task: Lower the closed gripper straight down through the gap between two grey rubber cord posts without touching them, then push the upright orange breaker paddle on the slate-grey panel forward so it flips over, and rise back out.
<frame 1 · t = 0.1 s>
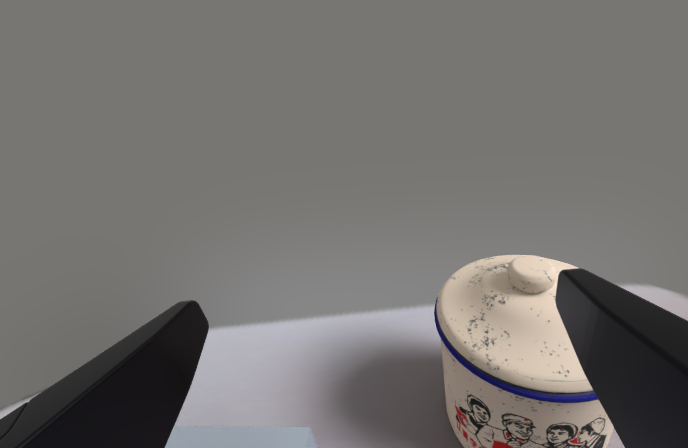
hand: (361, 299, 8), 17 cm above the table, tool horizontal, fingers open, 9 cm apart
teacup with lid: (544, 420, 20), on the table
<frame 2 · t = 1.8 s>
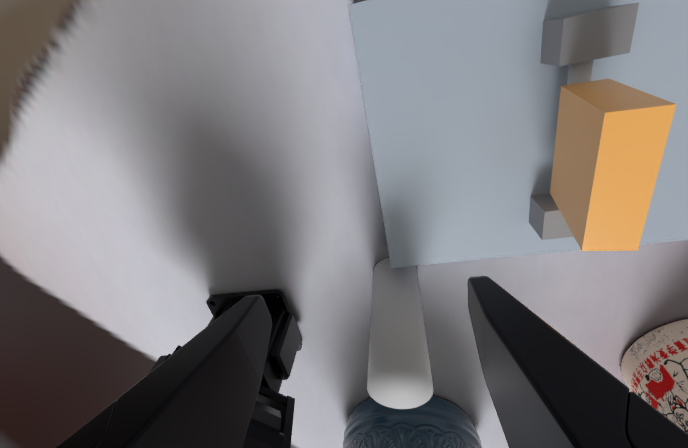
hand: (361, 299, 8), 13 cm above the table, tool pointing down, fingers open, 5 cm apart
teacup with lid: (671, 366, 26), on the table
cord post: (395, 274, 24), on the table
paddle: (595, 160, 12), point 6 cm above the table, hinge at -10.0°
canister: (409, 426, 33), on the table
panel: (540, 120, 18), on the table
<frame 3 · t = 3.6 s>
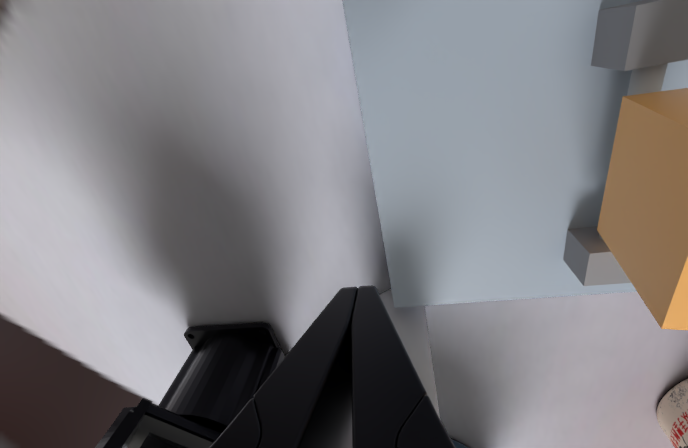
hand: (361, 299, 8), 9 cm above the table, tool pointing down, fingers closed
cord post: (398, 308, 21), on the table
paddle: (676, 200, 9), point 6 cm above the table, hinge at -10.0°
panel: (579, 134, 14), on the table
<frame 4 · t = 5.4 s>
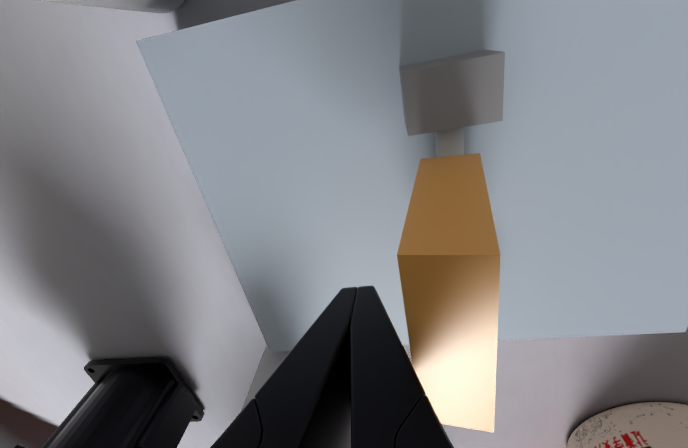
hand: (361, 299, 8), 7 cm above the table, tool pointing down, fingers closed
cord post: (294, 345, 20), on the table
paddle: (452, 277, 8), point 6 cm above the table, hinge at -9.9°, touching gripper
panel: (438, 180, 14), on the table
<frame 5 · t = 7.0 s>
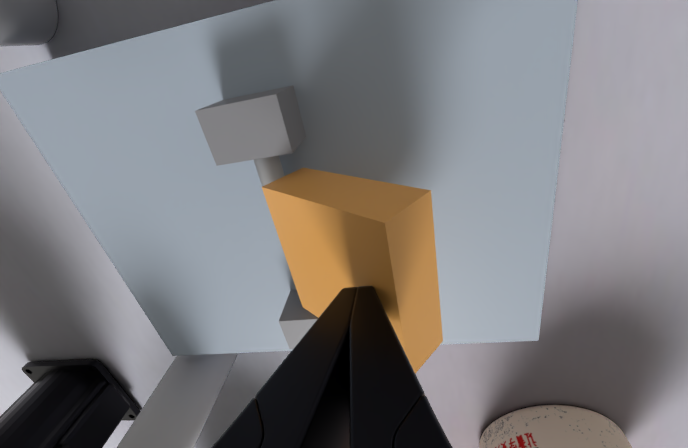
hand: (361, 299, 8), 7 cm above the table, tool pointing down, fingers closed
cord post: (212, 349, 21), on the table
paddle: (351, 262, 10), point 5 cm above the table, hinge at 50.5°, touching gripper
panel: (310, 196, 15), on the table
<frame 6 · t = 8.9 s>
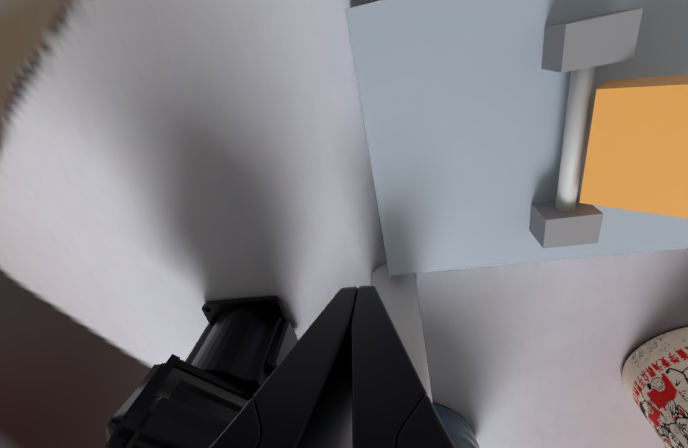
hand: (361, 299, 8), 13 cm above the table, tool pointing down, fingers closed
teacup with lid: (673, 374, 25), on the table
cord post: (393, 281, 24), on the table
paddle: (670, 147, 12), point 5 cm above the table, hinge at 50.6°
canister: (407, 433, 33), on the table
panel: (541, 125, 17), on the table
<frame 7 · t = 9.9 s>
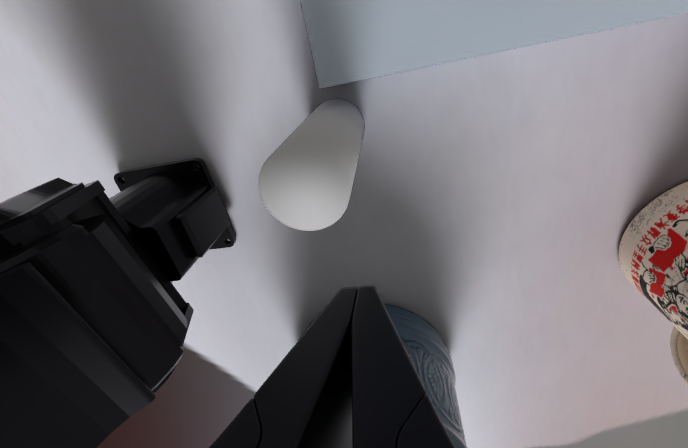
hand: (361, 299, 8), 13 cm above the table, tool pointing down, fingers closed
teacup with lid: (680, 253, 21), on the table
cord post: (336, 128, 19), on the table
canister: (372, 353, 29), on the table
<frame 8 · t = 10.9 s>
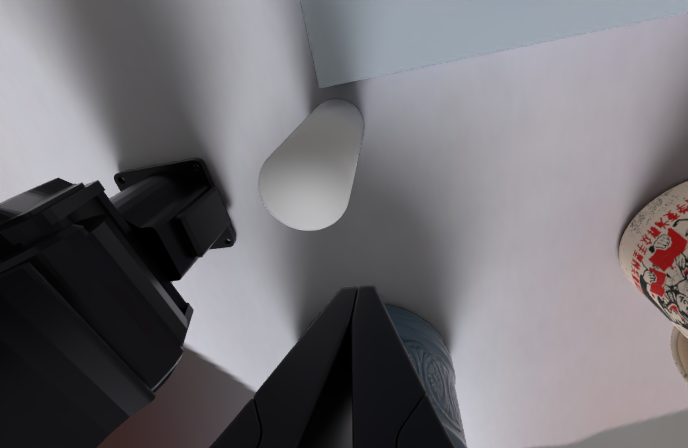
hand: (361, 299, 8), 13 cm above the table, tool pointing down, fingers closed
teacup with lid: (681, 253, 21), on the table
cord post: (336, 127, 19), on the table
canister: (372, 353, 29), on the table
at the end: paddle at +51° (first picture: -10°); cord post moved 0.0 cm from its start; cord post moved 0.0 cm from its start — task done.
